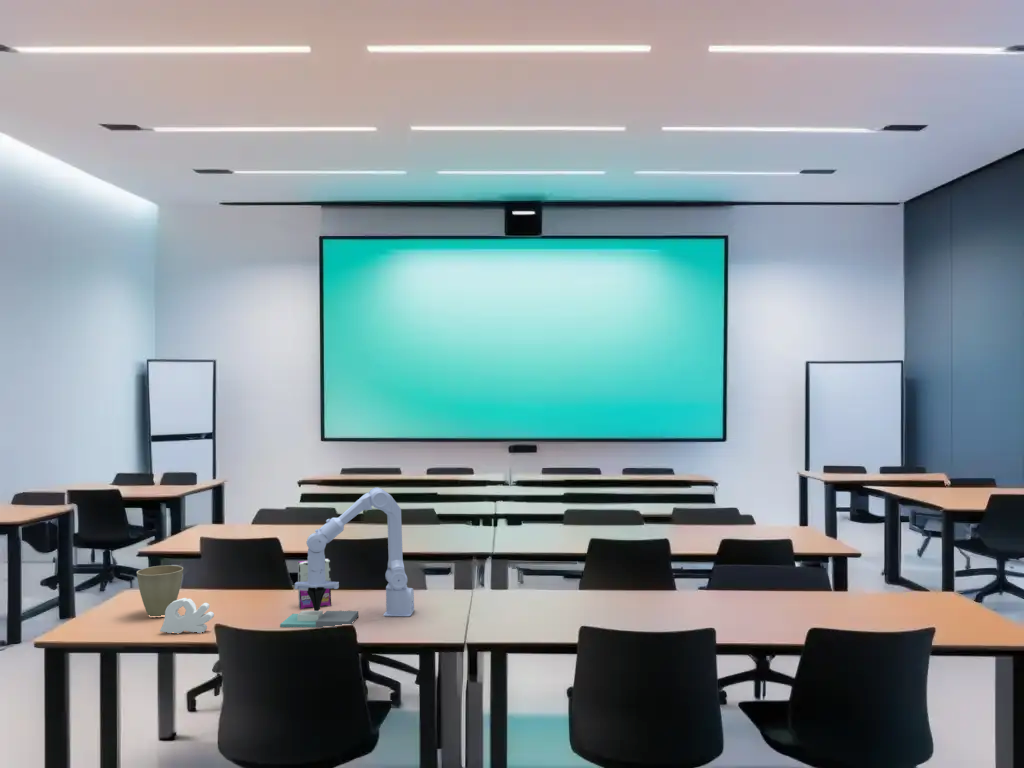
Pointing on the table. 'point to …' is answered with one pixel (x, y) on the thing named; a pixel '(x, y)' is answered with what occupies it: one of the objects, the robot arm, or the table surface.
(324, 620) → the plate
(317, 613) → the tile
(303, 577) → the candy bar box
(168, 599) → the plant pot
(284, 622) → the mat
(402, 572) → the robot arm
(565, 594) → the table surface
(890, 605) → the table surface
